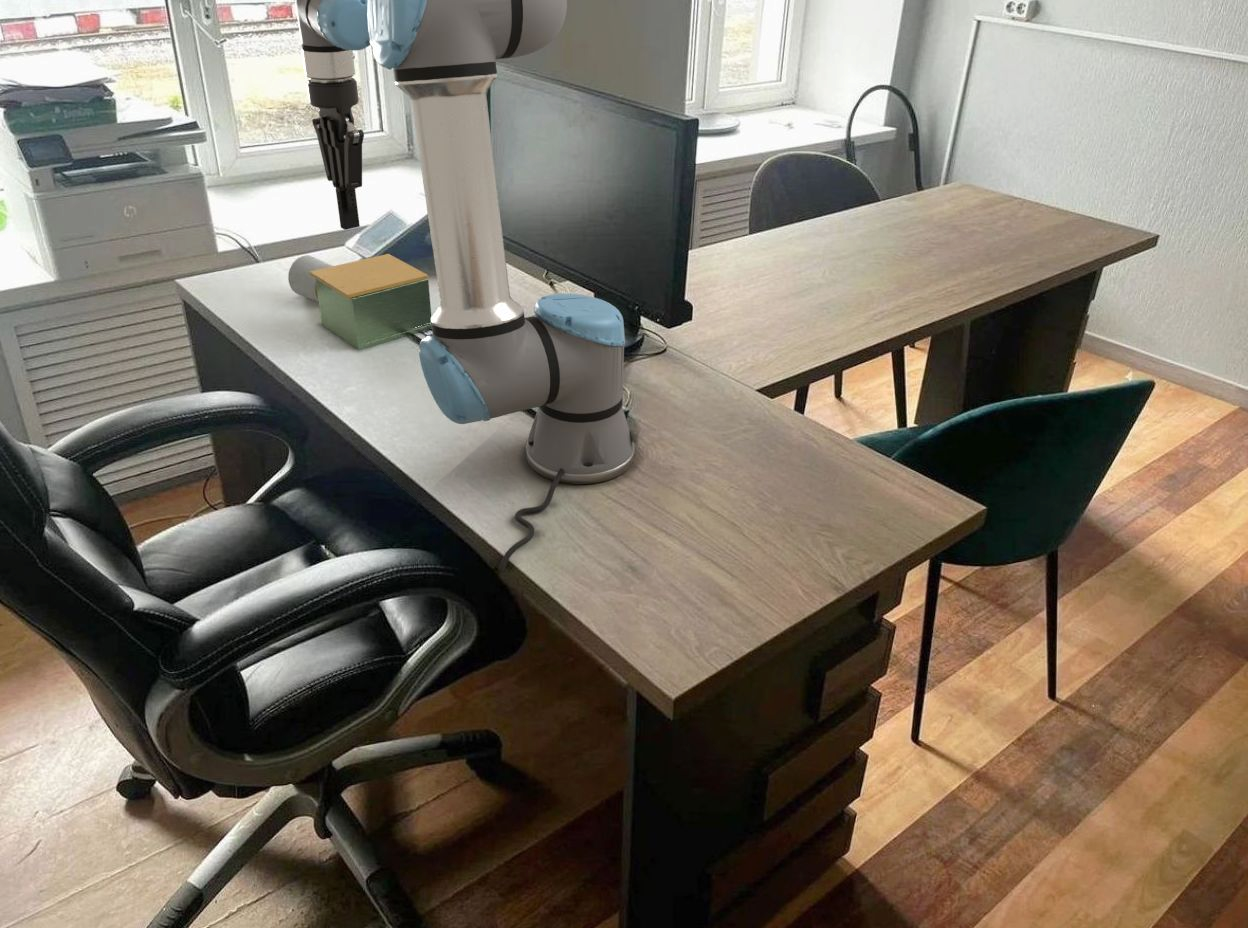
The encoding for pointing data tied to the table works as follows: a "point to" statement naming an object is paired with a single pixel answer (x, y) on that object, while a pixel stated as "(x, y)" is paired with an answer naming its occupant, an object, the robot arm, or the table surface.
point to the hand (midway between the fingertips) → (350, 226)
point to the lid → (368, 275)
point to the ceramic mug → (305, 276)
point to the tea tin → (376, 313)
